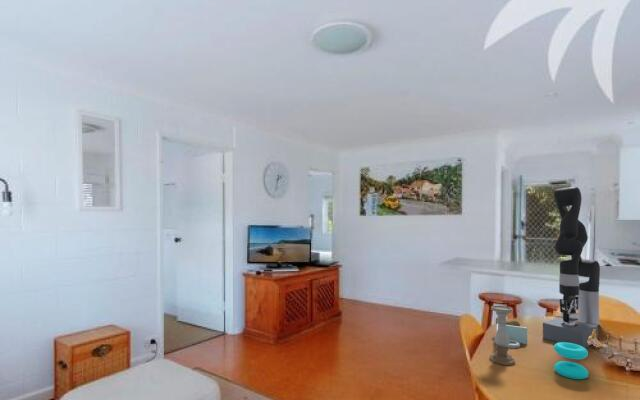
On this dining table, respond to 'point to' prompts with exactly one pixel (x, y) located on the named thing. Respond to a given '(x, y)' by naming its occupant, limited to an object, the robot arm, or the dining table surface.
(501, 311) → the candle holder
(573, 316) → the steel pin
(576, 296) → the robot arm
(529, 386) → the dining table surface
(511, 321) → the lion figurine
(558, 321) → the socket block
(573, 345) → the donuts
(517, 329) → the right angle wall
